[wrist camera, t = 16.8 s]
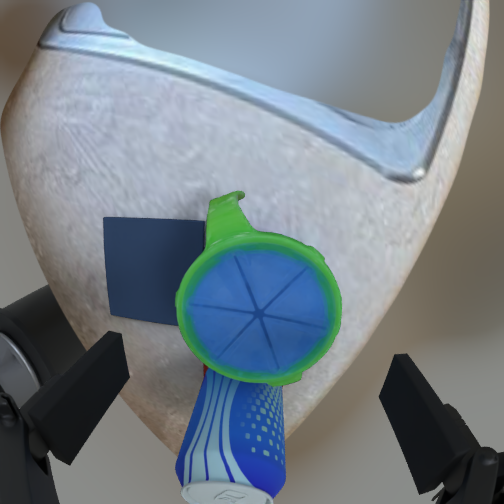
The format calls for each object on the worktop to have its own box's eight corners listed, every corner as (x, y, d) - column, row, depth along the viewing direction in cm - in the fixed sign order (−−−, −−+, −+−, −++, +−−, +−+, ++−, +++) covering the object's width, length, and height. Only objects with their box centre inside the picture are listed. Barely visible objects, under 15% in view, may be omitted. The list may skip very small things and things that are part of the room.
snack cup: (326, 330, 28) (350, 393, 18) (229, 349, 29) (213, 415, 19) (299, 178, 24) (319, 170, 14) (188, 204, 25) (142, 214, 16)
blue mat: (112, 312, 29) (110, 315, 28) (105, 216, 26) (103, 217, 26) (203, 326, 28) (202, 329, 28) (204, 220, 26) (203, 221, 25)
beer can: (290, 394, 29) (299, 513, 13) (224, 409, 30) (202, 519, 14) (266, 338, 27) (262, 471, 12) (194, 358, 28) (145, 475, 13)
